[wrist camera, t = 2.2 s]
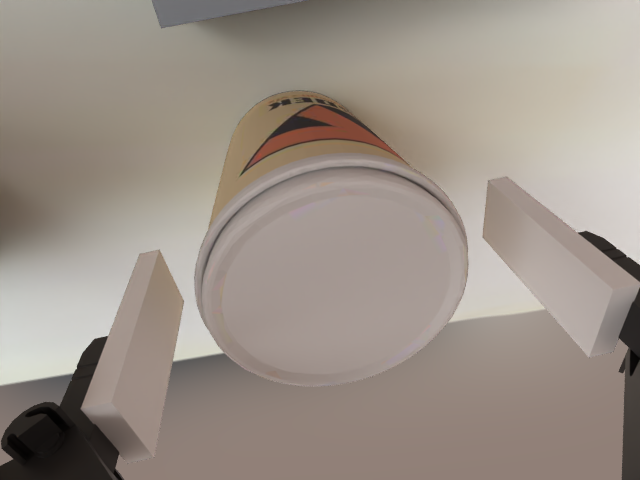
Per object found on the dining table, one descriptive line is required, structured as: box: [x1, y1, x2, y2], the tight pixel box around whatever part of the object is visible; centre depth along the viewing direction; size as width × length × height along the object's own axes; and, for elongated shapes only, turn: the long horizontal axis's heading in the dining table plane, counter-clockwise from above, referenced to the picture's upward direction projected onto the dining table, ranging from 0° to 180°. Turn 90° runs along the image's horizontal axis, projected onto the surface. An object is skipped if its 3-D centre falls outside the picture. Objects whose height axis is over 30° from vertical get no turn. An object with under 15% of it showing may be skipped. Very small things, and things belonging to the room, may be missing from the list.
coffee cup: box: [194, 91, 468, 386], centre depth 18 cm, size 9×9×12 cm
